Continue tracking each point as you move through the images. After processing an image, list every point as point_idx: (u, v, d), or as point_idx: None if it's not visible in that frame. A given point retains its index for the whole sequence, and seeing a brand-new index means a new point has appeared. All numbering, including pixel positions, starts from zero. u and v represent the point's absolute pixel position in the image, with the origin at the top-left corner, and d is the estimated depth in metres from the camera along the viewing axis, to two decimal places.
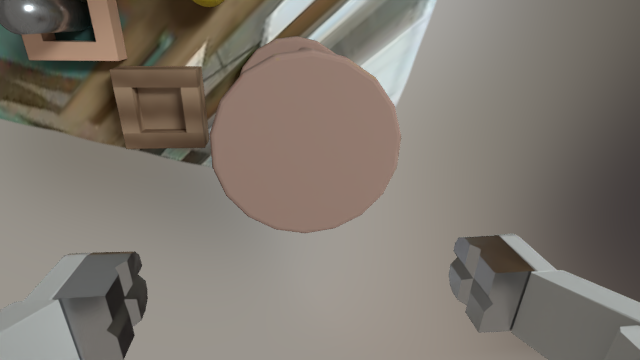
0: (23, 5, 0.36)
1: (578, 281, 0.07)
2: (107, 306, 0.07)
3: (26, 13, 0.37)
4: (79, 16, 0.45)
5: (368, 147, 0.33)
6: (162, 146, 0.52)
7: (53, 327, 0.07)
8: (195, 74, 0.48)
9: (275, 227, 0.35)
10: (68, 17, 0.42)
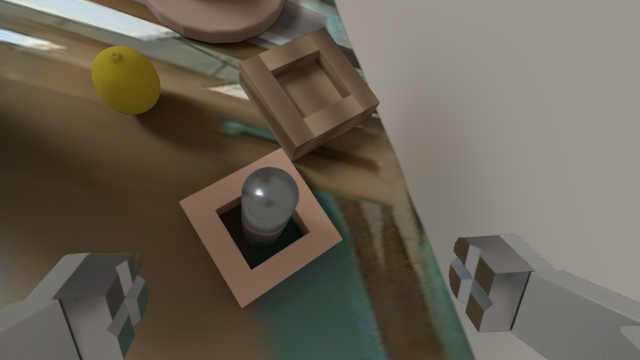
0: (254, 187, 0.25)
1: (578, 281, 0.07)
2: (107, 306, 0.07)
3: (262, 182, 0.25)
4: None
5: None
6: (352, 68, 0.40)
7: (53, 327, 0.07)
8: (244, 61, 0.37)
9: None
10: None
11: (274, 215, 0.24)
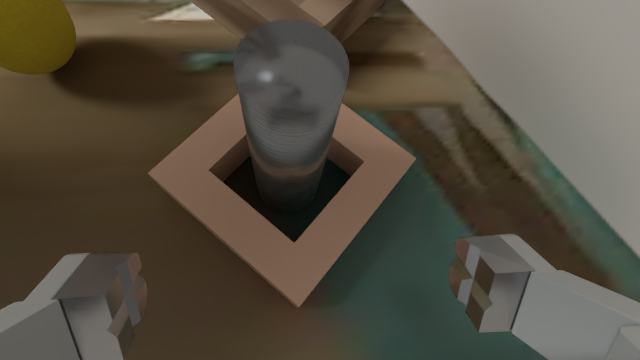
0: (256, 61, 0.12)
1: (578, 281, 0.07)
2: (107, 306, 0.07)
3: (270, 48, 0.12)
4: None
5: None
6: None
7: (53, 327, 0.07)
8: None
9: None
10: None
11: (313, 99, 0.12)
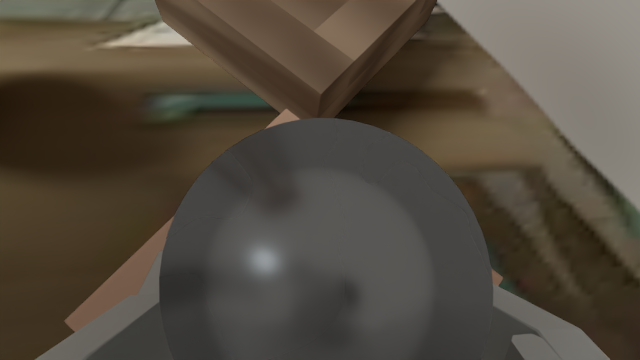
0: (229, 260, 0.04)
1: None
2: None
3: (267, 212, 0.04)
4: None
5: None
6: None
7: None
8: None
9: None
10: None
11: None
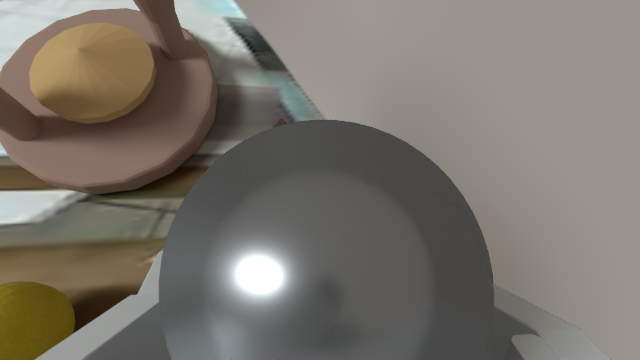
0: (229, 263, 0.04)
1: None
2: None
3: (267, 214, 0.04)
4: None
5: None
6: None
7: None
8: None
9: None
10: None
11: None
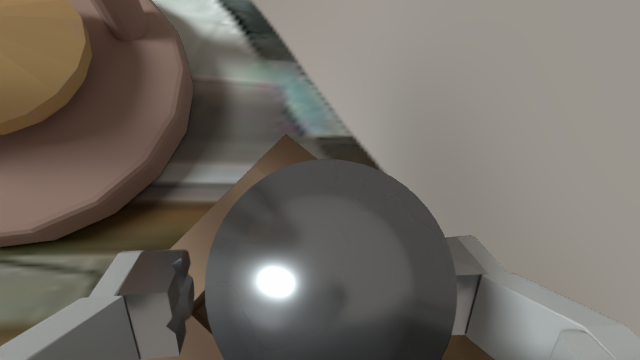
0: (257, 272, 0.05)
1: (527, 284, 0.07)
2: (167, 302, 0.07)
3: (285, 235, 0.06)
4: None
5: None
6: None
7: (117, 323, 0.07)
8: None
9: None
10: None
11: None
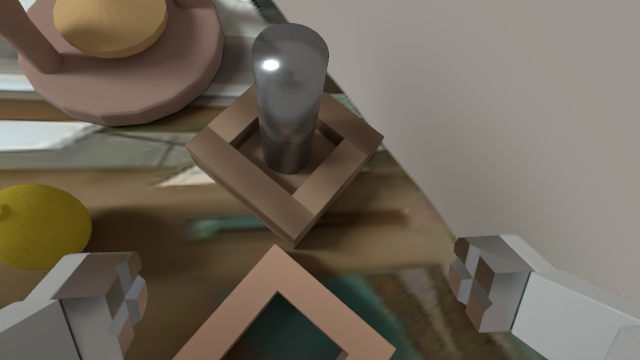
0: (267, 51, 0.18)
1: (578, 281, 0.07)
2: (107, 306, 0.07)
3: (275, 42, 0.19)
4: None
5: None
6: (334, 102, 0.29)
7: (53, 327, 0.07)
8: (191, 141, 0.27)
9: None
10: None
11: (304, 75, 0.18)
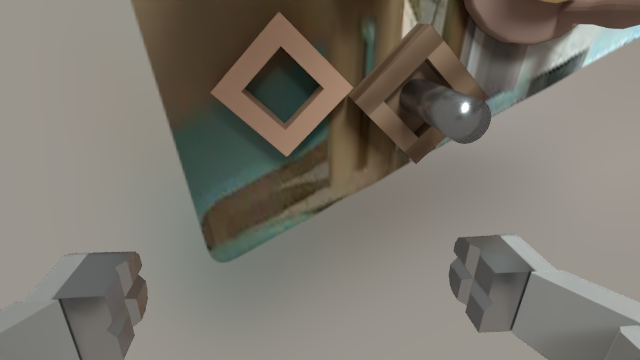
0: (472, 107, 0.30)
1: (578, 281, 0.07)
2: (107, 306, 0.07)
3: (477, 112, 0.31)
4: None
5: None
6: None
7: (53, 327, 0.07)
8: (433, 29, 0.37)
9: None
10: None
11: (452, 129, 0.31)
